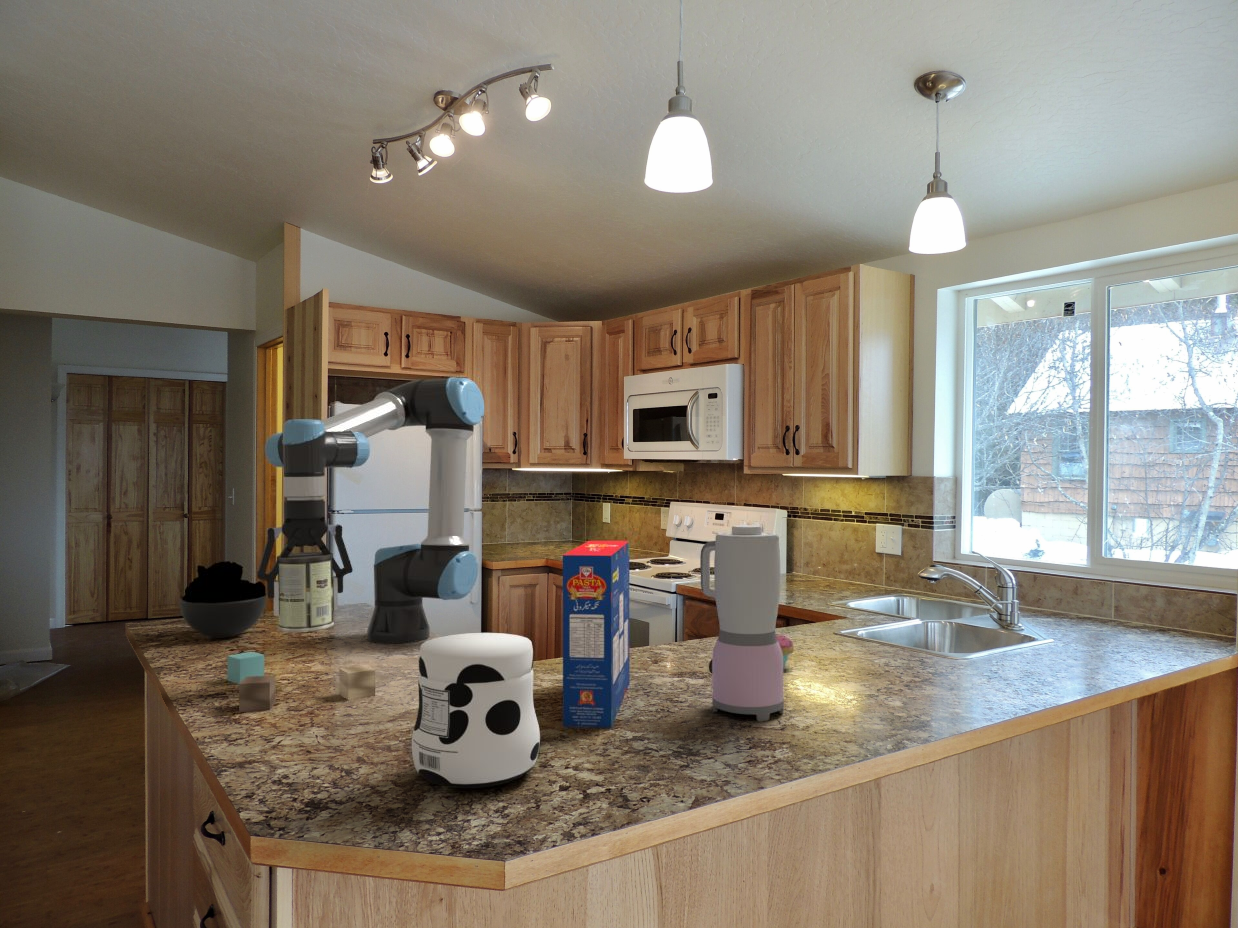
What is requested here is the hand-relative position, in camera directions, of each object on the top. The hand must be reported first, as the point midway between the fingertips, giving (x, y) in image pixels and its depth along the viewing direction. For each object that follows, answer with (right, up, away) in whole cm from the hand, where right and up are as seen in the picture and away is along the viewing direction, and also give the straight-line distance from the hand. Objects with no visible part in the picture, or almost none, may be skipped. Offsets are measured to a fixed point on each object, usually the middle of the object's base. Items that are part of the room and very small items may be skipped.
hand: (306, 612), depth 161 cm
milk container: (+42, -14, -48) cm, 65 cm away
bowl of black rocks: (-38, -15, +46) cm, 62 cm away
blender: (+82, -14, -17) cm, 85 cm away
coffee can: (0, -3, 0) cm, 3 cm away
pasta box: (+58, -14, -13) cm, 61 cm away
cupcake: (+94, -14, +13) cm, 96 cm away
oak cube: (+12, -14, -8) cm, 20 cm away
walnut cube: (-3, -14, -15) cm, 21 cm away
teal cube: (-14, -14, +4) cm, 20 cm away
